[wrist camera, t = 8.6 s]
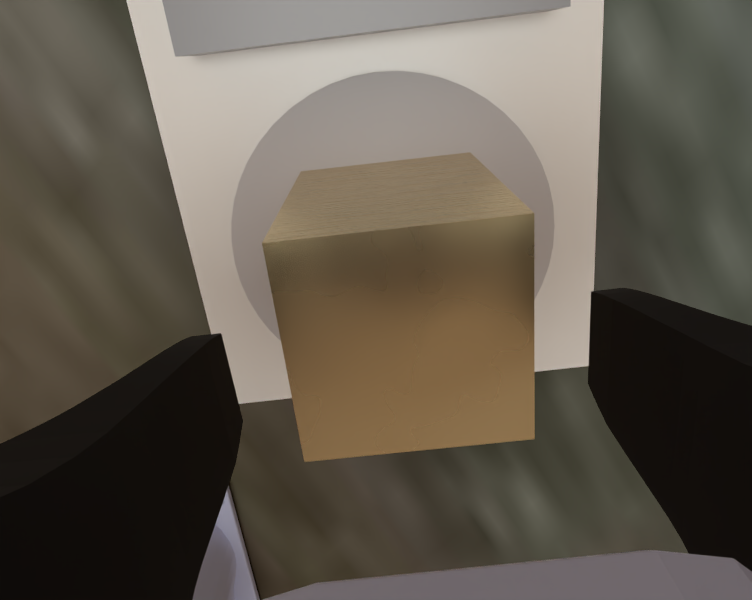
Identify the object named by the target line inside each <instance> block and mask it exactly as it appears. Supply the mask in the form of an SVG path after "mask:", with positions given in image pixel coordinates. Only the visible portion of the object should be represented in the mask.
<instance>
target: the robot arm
mask: <svg viewBox="0 0 752 600" xmlns="http://www.w3.org/2000/svg"><path fill="white" fill-rule="evenodd" d="M588 384H589V387H590V389H591V391H592V394H593V396H594V398H595V400H596V403H597V405H598V407H599V409H600V411H601V413H602V415H603V417H604V420H605V422H606V424H607V425H608V427H609V429H610V430H611V432H612V433H613V435H614V436H615V438H616V439H617V441H618V443H619V444H620V446H621V447H622V449H623V450H624V452H625V453H626V455H627V456H628V458H629V459H630V461H631V462H632V464H633V465H634V467H635V468H636V470H637V471H638V473H639V474H640V476H641V477H642V479H643V480H644V482H645V483H646V485H647V486H648V488H649V489H650V491H651V492H652V494H653V495H654V497H655V498H656V500H657V501H658V503H659V504H660V506H661V507H662V509H663V510H664V512H665V513H666V515H667V516H668V518H669V519H670V521H671V523H672V524H673V526H674V528H675V529H676V531H677V533H678V534H679V536H680V538H681V539H682V541H683V543H684V545H685V547H686V549H687V551H688V553H689V554H686V553H676V552H667V551H657V550H640V551H630V552H620V553H610V554H600V555H590V556H580V557H570V558H560V559H550V560H540V561H530V562H520V563H510V564H500V565H490V566H480V567H469V568H459V569H449V570H439V571H429V572H419V573H409V574H399V575H389V576H379V577H369V578H359V579H349V580H339V581H329V582H319V583H314V584H311V585H308V586H305V587H301V588H298V589H295V590H292V591H288V592H285V593H282V594H279V595H275V596H272V597H269V598H266V599H262V600H752V326H750V325H747V324H743V323H740V322H737V321H733V320H730V319H727V318H723V317H720V316H717V315H714V314H711V313H708V312H705V311H702V310H698V309H695V308H692V307H689V306H686V305H683V304H680V303H677V302H674V301H671V300H668V299H665V298H662V297H659V296H655V295H652V294H649V293H645V292H641V291H638V290H633V289H627V288H618V289H609V290H600V291H591V308H590V339H589V369H588ZM242 423H243V419H242V415H241V411H240V407H239V403H238V399H237V395H236V391H235V387H234V383H233V379H232V375H231V371H230V367H229V363H228V358H227V354H226V350H225V346H224V342H223V338H222V334H221V333H218V334H209V335H200V336H192V337H189V338H186V339H184V340H182V341H180V342H178V343H176V344H175V345H173V346H171V347H169V348H168V349H166V350H165V351H163V352H161V353H160V354H158V355H157V356H155V357H154V358H152V359H150V360H149V361H147V362H146V363H144V364H143V365H141V366H140V367H138V368H137V369H135V370H133V371H132V372H130V373H129V374H127V375H126V376H124V377H123V378H121V379H119V380H118V381H116V382H115V383H113V384H111V385H110V386H108V387H106V388H105V389H103V390H101V391H100V392H98V393H96V394H95V395H93V396H91V397H90V398H88V399H86V400H85V401H83V402H81V403H80V404H78V405H76V406H75V407H73V408H71V409H69V410H67V411H66V412H64V413H62V414H60V415H58V416H56V417H54V418H53V419H51V420H49V421H47V422H45V423H43V424H41V425H39V426H37V427H35V428H33V429H31V430H29V431H27V432H25V433H23V434H21V435H19V436H16V437H14V438H12V439H10V440H8V441H6V442H3V443H1V444H0V600H260V599H259V595H258V591H257V588H256V584H255V580H254V577H253V573H252V569H251V566H250V562H249V558H248V555H247V551H246V547H245V544H244V540H243V536H242V533H241V529H240V525H239V522H238V518H237V514H236V511H235V507H234V503H233V500H232V496H231V492H230V489H229V482H230V479H231V476H232V473H233V470H234V467H235V463H236V458H237V453H238V448H239V442H240V435H241V429H242Z"/></svg>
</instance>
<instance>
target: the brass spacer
mask: <svg viewBox="0 0 752 600" xmlns="http://www.w3.org/2000/svg"><path fill="white" fill-rule="evenodd" d="M262 246H263V251H264V256H265V262H266V267H267V272H268V277H269V282H270V287H271V292H272V298H273V303H274V308H275V313H276V318H277V323H278V328H279V334H280V339H281V344H282V349H283V354H284V359H285V364H286V370H287V375H288V380H289V385H290V390H291V395H292V401H293V406H294V411H295V416H296V421H297V426H298V431H299V437H300V442H301V447H302V452H303V457H304V462H309V461H319V460H329V459H339V458H349V457H359V456H369V455H379V454H389V453H399V452H409V451H419V450H429V449H439V448H450V447H460V446H470V445H480V444H490V443H500V442H510V441H520V440H530V439H535V381H534V212H533V211H532V210H530V209H529V208H528V207H527V206H526V205H525V204H524V203H523V202H522V201H521V200H520V199H519V198H518V197H517V196H516V195H515V194H514V193H513V192H512V191H510V190H509V189H508V188H507V187H506V186H505V185H504V184H503V183H502V182H501V181H500V180H499V179H498V178H497V177H496V176H495V175H494V174H493V173H492V172H490V171H489V170H488V169H487V168H486V167H485V166H484V165H483V164H482V163H481V162H480V161H479V160H478V159H477V158H476V157H475V156H474V155H473V154H472V153H470V152H468V153H459V154H450V155H441V156H432V157H424V158H415V159H406V160H397V161H388V162H379V163H370V164H362V165H353V166H344V167H335V168H326V169H317V170H308V171H301V172H300V174H299V176H298V177H297V179H296V181H295V183H294V185H293V187H292V189H291V190H290V192H289V194H288V196H287V198H286V200H285V201H284V203H283V205H282V207H281V209H280V211H279V213H278V214H277V216H276V218H275V220H274V222H273V224H272V225H271V227H270V229H269V231H268V233H267V235H266V237H265V238H264V240H263V242H262Z"/></svg>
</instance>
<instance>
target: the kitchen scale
mask: <svg viewBox="0 0 752 600" xmlns="http://www.w3.org/2000/svg"><path fill="white" fill-rule="evenodd" d="M126 1H127V5H128V8H129V12H130V16H131V20H132V24H133V28H134V32H135V36H136V40H137V44H138V48H139V52H140V56H141V60H142V64H143V67H144V71H145V75H146V79H147V83H148V87H149V91H150V95H151V99H152V103H153V107H154V111H155V115H156V119H157V123H158V126H159V130H160V134H161V138H162V142H163V146H164V150H165V154H166V158H167V162H168V166H169V170H170V174H171V178H172V182H173V185H174V189H175V193H176V197H177V201H178V205H179V209H180V213H181V217H182V221H183V225H184V229H185V233H186V237H187V241H188V245H189V248H190V252H191V256H192V260H193V264H194V268H195V272H196V276H197V280H198V284H199V288H200V292H201V296H202V300H203V304H204V307H205V311H206V315H207V319H208V323H209V327H210V331H211V334H218V333H221V334H222V338H223V342H224V346H225V350H226V354H227V358H228V363H229V367H230V371H231V375H232V379H233V383H234V387H235V391H236V395H237V399H238V403H239V404H242V403H251V402H260V401H270V400H279V399H288V398H292V395H291V390H290V385H289V380H288V375H287V370H286V364H285V359H284V354H283V349H282V344H281V339H280V334H279V328H278V323H277V318H276V313H275V308H274V303H273V298H272V292H271V287H270V282H269V277H268V272H267V267H266V262H265V256H264V251H263V246H262V242H263V240H264V238H265V237H266V235H267V233H268V231H269V229H270V227H271V225H272V224H273V222H274V220H275V218H276V216H277V214H278V213H279V211H280V209H281V207H282V205H283V203H284V201H285V200H286V198H287V196H288V194H289V192H290V190H291V189H292V187H293V185H294V183H295V181H296V179H297V177H298V176H299V174H300V172H301V171H308V170H317V169H326V168H335V167H344V166H353V165H362V164H370V163H379V162H388V161H397V160H406V159H415V158H424V157H432V156H441V155H450V154H459V153H468V152H470V153H472V154H473V155H474V156H475V157H476V158H477V159H478V160H479V161H480V162H481V163H482V164H483V165H484V166H485V167H486V168H487V169H488V170H489V171H490V172H492V173H493V174H494V175H495V176H496V177H497V178H498V179H499V180H500V181H501V182H502V183H503V184H504V185H505V186H506V187H507V188H508V189H509V190H510V191H512V192H513V193H514V194H515V195H516V196H517V197H518V198H519V199H520V200H521V201H522V202H523V203H524V204H525V205H526V206H527V207H528V208H529V209H530V210H532V211H533V212H534V372H537V371H546V370H556V369H565V368H574V367H583V366H589V339H590V308H591V291H594V268H595V240H596V211H597V183H598V154H599V126H600V97H601V69H602V40H603V12H604V0H126Z"/></svg>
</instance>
